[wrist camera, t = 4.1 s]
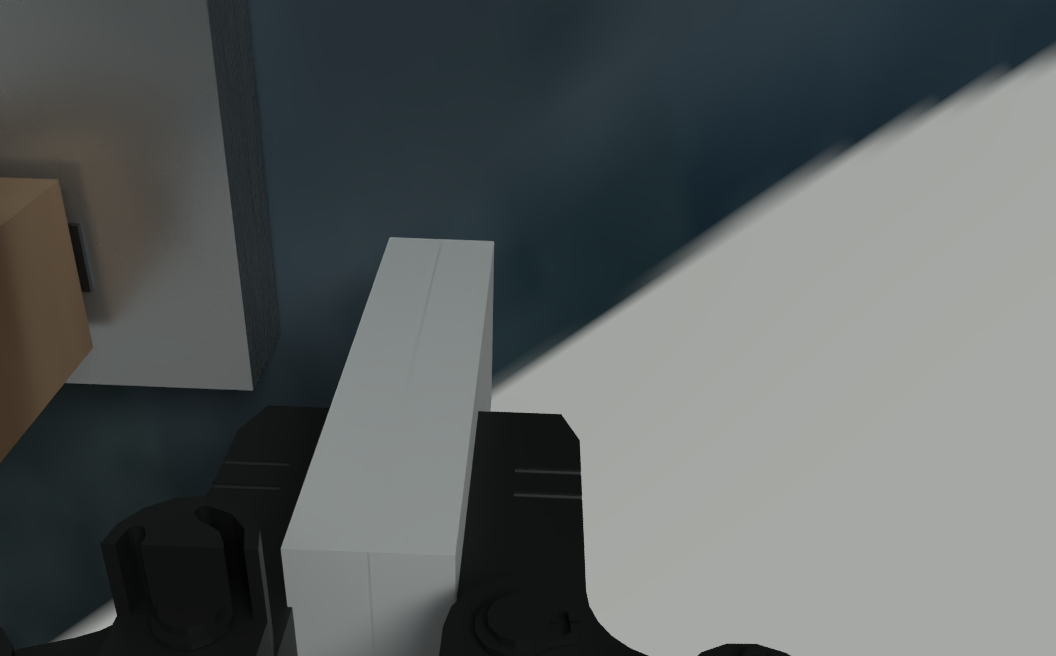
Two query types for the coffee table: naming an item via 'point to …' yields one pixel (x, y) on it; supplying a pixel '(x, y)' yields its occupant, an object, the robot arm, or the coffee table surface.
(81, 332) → the brown rectangular block
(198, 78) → the panel
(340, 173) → the coffee table surface
